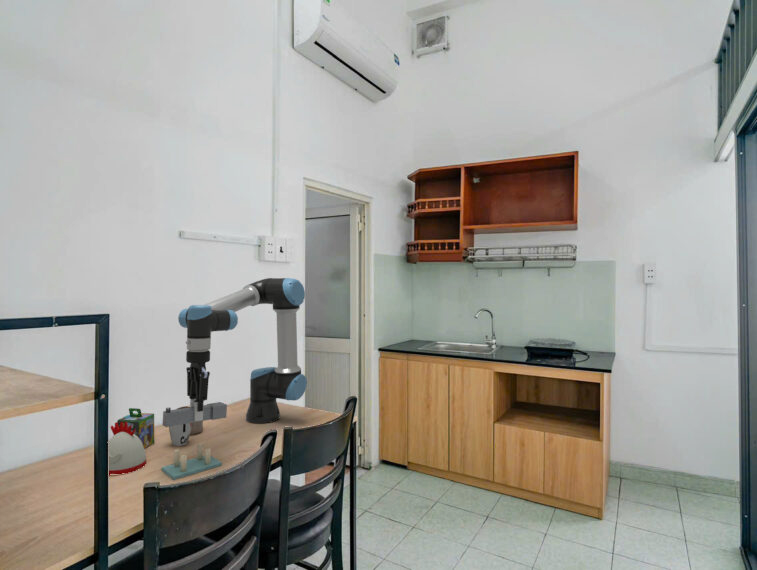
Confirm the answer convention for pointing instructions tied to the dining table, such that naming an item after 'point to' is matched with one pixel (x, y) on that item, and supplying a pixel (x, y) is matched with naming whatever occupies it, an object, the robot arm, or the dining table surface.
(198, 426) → the planter
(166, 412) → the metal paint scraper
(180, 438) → the cup
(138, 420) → the chalk box
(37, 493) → the dining table surface
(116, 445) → the kitchen timer
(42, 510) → the dining table surface
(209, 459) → the peg rack
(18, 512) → the dining table surface
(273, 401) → the robot arm
